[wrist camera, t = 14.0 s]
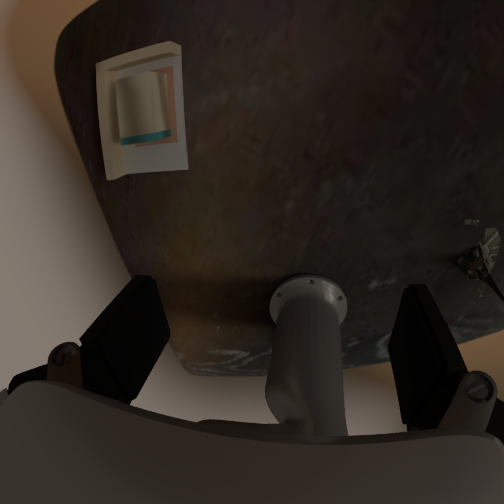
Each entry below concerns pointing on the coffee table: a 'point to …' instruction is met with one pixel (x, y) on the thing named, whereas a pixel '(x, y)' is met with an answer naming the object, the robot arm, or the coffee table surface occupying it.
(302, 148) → the coffee table surface
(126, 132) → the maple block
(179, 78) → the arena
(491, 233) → the eiffel tower figurine
